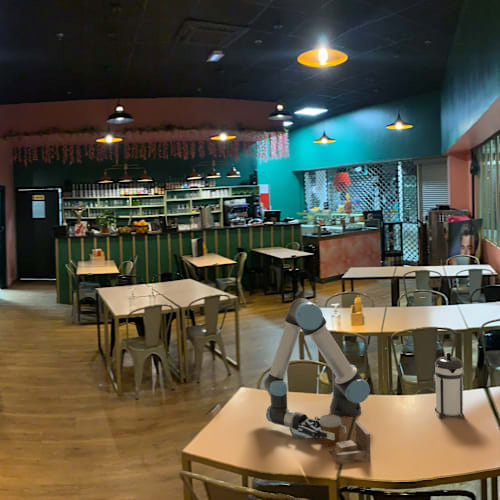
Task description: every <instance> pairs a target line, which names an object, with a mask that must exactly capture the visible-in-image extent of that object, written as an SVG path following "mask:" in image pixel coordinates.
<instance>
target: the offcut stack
mask: <svg viewBox="0 0 500 500" xmlns="http://www.w3.org/2000/svg"><path fill="white" fill-rule="evenodd" d="M334 447H335V449H334V450H336V453H343V452H352V451H358V449H357V444H356V442H354V441H353V440H352V439H349V440H343V441H339V442H337V443H336V446H334Z"/></svg>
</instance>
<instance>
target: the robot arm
mask: <svg viewBox="0 0 500 500" xmlns="http://www.w3.org/2000/svg"><path fill="white" fill-rule="evenodd" d="M284 323H285V325H284V329H283V332H282V334H281V337H280V341H279V343H278V346H277V349H276V352H275V356H274V358H273V361H272V365H271V368H270V370H269V373H268V375H267V377H265V379H264V381H263V386H264V389H265V390H266V392H267V393H268V395H269V397H270V398H269V399H270V405H269V406H268V407H267V409H266V412H265V418H266V420H267V421H268V422H270V423H273V424H275V425H279V426H283V427H285V428H288V429H290V428H291V429H295V430H298V432H301V433H304V434H307V435H309V436H311V437H314V439H320V438H322V437H324V438H327V439H331V440H335V433H331V432H328V431H324V430H321V432H320V430H318V429H317V428H318V427H321V426H320V423H319V420H320V417H318V416H314V418H309V417H308V416H307V415H306V414H305V413H302V412H298V411H296V410H295V411H294V410H291V409H288V388H287V383H286V382H285V381H284V380H285V376H286V374H287V371H288V368H289V365H290V362H291V359H292V357H293V356H292V355H293V353H294V351H295V347H296V345H297V342H298V339H299V336H300V333H301V331H302V332H303V334H304V335H305V336H306V337H307V336H308V337H310V340H312V342H313V343H314V345H315V347H316V348H317V350H318V351H319V353H320V354H321V356H322V357H323V359H324V361H325V362H326V363H327V365H328V366H329V368H330V370H331V371H332V372H331V374H332V398H331V402H330V405H329V412H330V414H331V415H336V416H339V417H340V418H349V417H350V418H351V417H357V416H358V415H359V416H360V414H361V413H362V406H361V404H360V403H363V402H364V401H366V400H367V398H368V397H369V396H370V393H371V388H370V384H369V383H368V382H367V380H366V379H364V378H363V376H362V375H361V373H360V372H359V370H358V369H357V366H356V365H354V364H351V363H350V362H349V360H348V359H347V357H346V356H345V355H344V353H343V351H342V349H341V348H340V346H339V345H338V343H337V341H336V340H335V338H334V337H333V336H332V334H331V332H330V331H329V329H328V328H327V326H326V325H327V320H326V318H325V317H324V313H323V311H322V309H321V308H320V306H319V305H317V304H316V303H314V302H312V301H311V300H309V299H307V298H304V297H301V298H299V297H298V298H297V299H294V300H293V301H292V302H291V304H290V306H289V307H288V310H287V313H286V316H285V319H284ZM291 429H290V430H291ZM340 433H343V434H347V426H345V425H343V424H341V425H340ZM316 436H317V437H316ZM320 436H321V437H320Z"/></svg>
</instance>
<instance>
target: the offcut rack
mask: <svg viewBox="0 0 500 500" xmlns="http://www.w3.org/2000/svg"><path fill="white" fill-rule="evenodd" d="M354 422H355V423H354V424H355V425H354V426H355V444H357V449H358V451H352V452H343V453H336V450H335V449H334V450H333V449H332V450H328V452H329V454H330V455H331V456H332V458H333V460H334V461H335V463H336V464H337V465H346V464H353V463H362V462H368V461H371V456H372V455H371V433H370V432H369V431H368V430H367V429H366V428H365V426H364V425H363V424H362V423H361V422H360V421H354Z"/></svg>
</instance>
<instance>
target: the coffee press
mask: <svg viewBox="0 0 500 500" xmlns="http://www.w3.org/2000/svg"><path fill="white" fill-rule="evenodd" d="M434 367H435V370H434V374H435V375H434V376H435V407H434V411H435V412H438V413H439V419H442V420H444V418H445V416H450V417H451V416H452V417H453V416H454V417H455V416H458V417H459V418H460V419H462V420H463V419H465V415H464V413H463V411H464V390H463V389H464V386H463V384H464V383H463V382H464V381H463V380H464V379H463V377H464V371H463V368H464V363H463V362H462V360H461V359H460V358H458V357H454V356H452V353H450V352H447V353H446V354H445V356H440V357H438V358H436V360H435V362H434Z"/></svg>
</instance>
